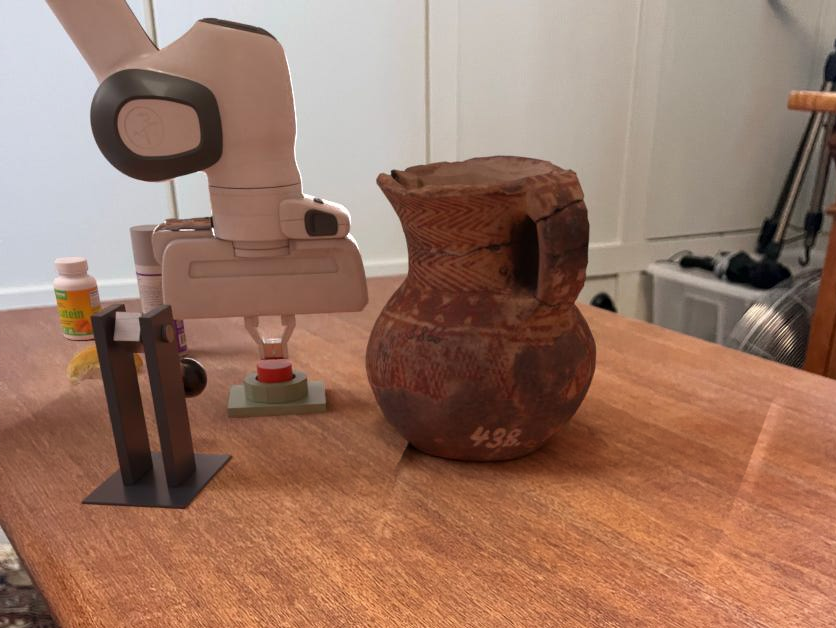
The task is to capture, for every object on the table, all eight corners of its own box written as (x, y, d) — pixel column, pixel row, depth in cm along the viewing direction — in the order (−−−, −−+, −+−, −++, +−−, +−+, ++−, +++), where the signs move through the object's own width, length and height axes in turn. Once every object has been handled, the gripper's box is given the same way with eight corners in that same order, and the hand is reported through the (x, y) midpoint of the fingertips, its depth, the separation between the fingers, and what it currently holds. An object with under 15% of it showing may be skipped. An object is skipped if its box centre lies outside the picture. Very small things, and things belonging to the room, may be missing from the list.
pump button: (257, 386, 104) (255, 369, 104) (258, 376, 108) (256, 360, 107) (293, 385, 105) (291, 368, 104) (293, 375, 108) (291, 358, 107)
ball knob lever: (174, 402, 95) (177, 365, 96) (211, 403, 95) (214, 366, 95) (104, 347, 81) (108, 303, 82) (147, 348, 81) (151, 305, 81)
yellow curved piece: (148, 366, 123) (143, 333, 121) (136, 389, 116) (129, 353, 114) (78, 368, 123) (71, 335, 120) (61, 391, 115) (53, 356, 113)
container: (171, 346, 131) (152, 223, 123) (195, 352, 129) (177, 226, 121) (142, 355, 128) (120, 228, 120) (166, 361, 125) (145, 232, 118)
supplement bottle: (56, 340, 134) (39, 263, 129) (76, 329, 139) (61, 255, 134) (94, 341, 133) (79, 264, 128) (113, 331, 138) (99, 256, 133)
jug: (333, 461, 96) (310, 173, 83) (419, 396, 113) (411, 148, 100) (557, 492, 90) (570, 185, 77) (613, 418, 107) (631, 157, 94)
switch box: (229, 429, 104) (224, 391, 102) (233, 404, 111) (228, 368, 109) (327, 423, 105) (324, 386, 103) (325, 400, 112) (322, 364, 110)
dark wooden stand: (141, 465, 95) (109, 292, 87) (234, 469, 94) (210, 295, 86) (84, 517, 85) (42, 327, 77) (187, 523, 84) (155, 330, 76)
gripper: (143, 224, 94) (168, 372, 101) (365, 217, 97) (373, 362, 104) (151, 213, 99) (174, 355, 106) (361, 207, 102) (369, 345, 109)
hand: (274, 358), depth 105 cm, fingers closed
